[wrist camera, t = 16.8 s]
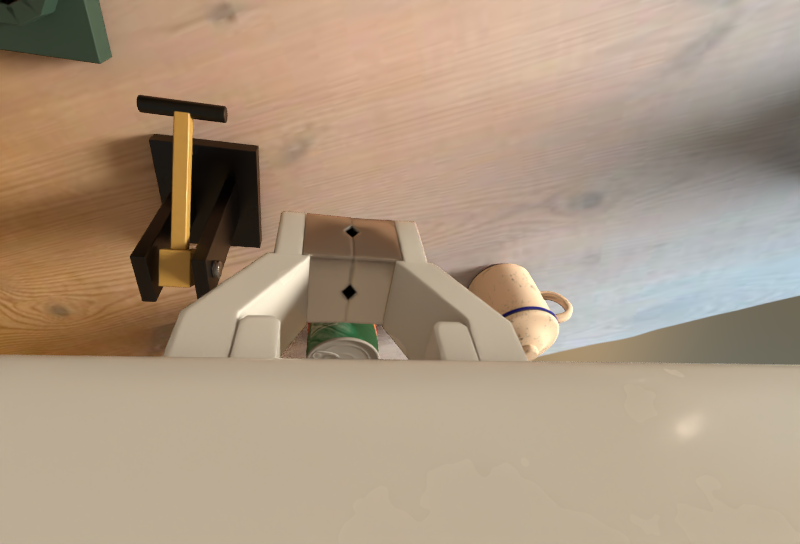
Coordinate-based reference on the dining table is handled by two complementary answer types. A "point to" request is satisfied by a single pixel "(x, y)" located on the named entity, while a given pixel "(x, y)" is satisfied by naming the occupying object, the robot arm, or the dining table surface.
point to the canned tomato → (342, 341)
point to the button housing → (55, 29)
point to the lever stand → (203, 211)
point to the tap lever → (180, 182)
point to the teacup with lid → (522, 305)
